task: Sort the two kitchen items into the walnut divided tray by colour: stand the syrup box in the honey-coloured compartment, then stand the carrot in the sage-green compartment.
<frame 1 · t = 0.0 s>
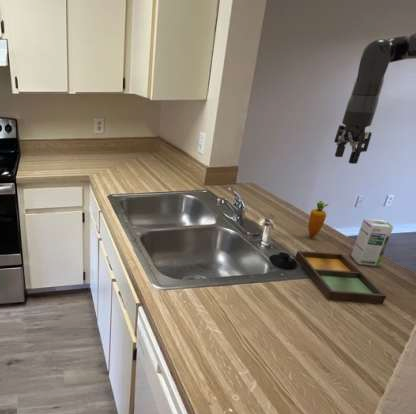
hand: (345, 159, 111), 31 cm above the worktop, tool pointing down, fingers open, 8 cm apart
sorting tray: (334, 278, 101), on the worktop
carrot: (311, 238, 125), on the worktop
syrup box: (363, 261, 111), on the worktop
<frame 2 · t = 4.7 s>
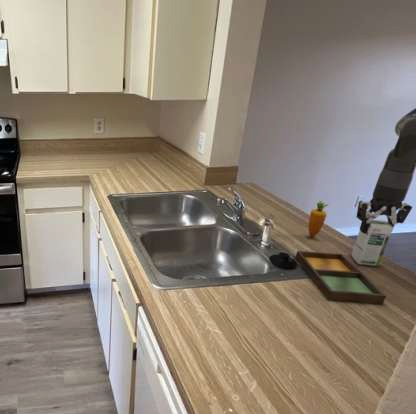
hand: (374, 232, 106), 11 cm above the worktop, tool pointing down, fingers closed on syrup box, 6 cm apart
syrup box: (363, 261, 111), on the worktop, touching gripper
everything else where it was.
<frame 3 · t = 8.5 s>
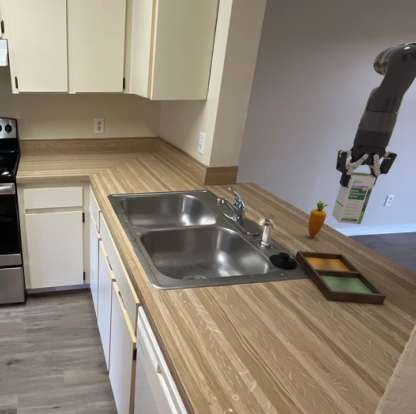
hand: (356, 186, 96), 28 cm above the worktop, tool pointing down, fingers closed on syrup box, 6 cm apart
syrup box: (345, 220, 100), point 17 cm above the worktop, touching gripper
everything else where it was.
when the fingers open (12 cm above the worktop, at t = 12.6 s): syrup box stays where it is, resting on sorting tray.
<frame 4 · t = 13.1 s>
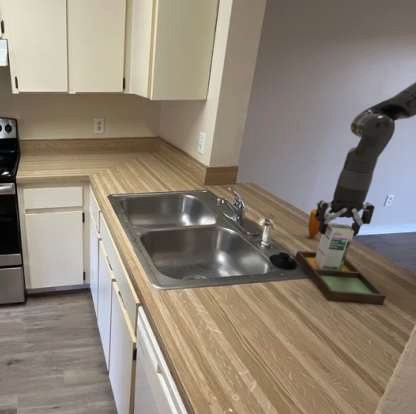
hand: (337, 234, 101), 13 cm above the worktop, tool pointing down, fingers open, 8 cm apart
syrup box: (326, 266, 106), point 1 cm above the worktop, touching sorting tray
everything else where it was.
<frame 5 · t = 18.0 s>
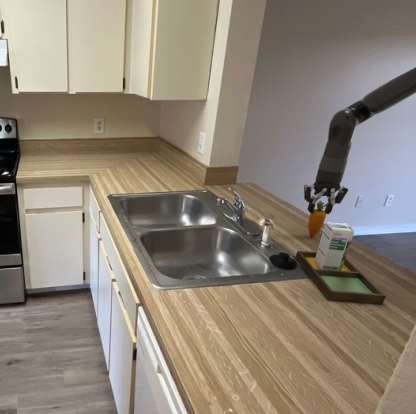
hand: (318, 212, 121), 10 cm above the worktop, tool pointing down, fingers closed on carrot, 5 cm apart
carrot: (311, 238, 125), on the worktop, touching gripper
everything else where it was.
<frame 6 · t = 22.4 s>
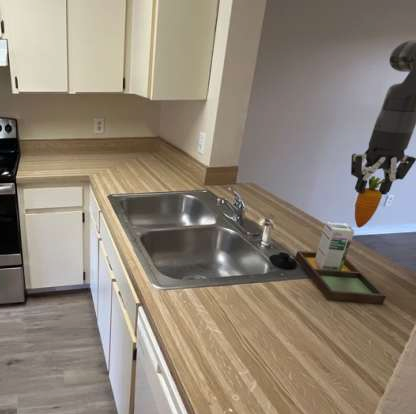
hand: (370, 192, 88), 29 cm above the worktop, tool pointing down, fingers closed on carrot, 5 cm apart
carrot: (358, 228, 92), point 18 cm above the worktop, touching gripper
everything else where it was.
when the fingers open (11 cm above the worktop, at t = 26.9 s): carrot stays where it is, resting on sorting tray.
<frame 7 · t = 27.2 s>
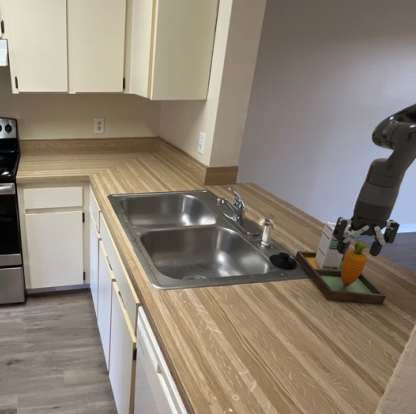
hand: (356, 253, 92), 12 cm above the worktop, tool pointing down, fingers open, 7 cm apart
carrot: (345, 287, 96), point 1 cm above the worktop, touching sorting tray
everything else where it was.
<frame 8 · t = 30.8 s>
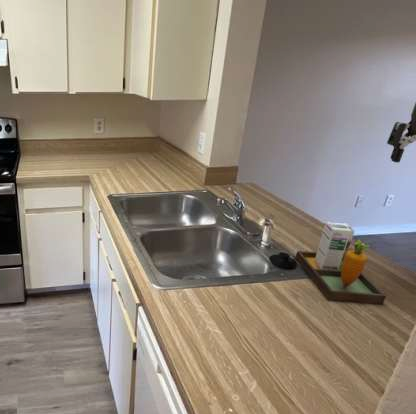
hand: (412, 162, 89), 36 cm above the worktop, tool pointing down, fingers open, 8 cm apart
nothing on the worktop moved.
at the end: syrup box inside the target area on the sorting tray (0.1 cm from its centre), point 0.8 cm above the sorting tray's base; carrot inside the target area on the sorting tray (0.1 cm from its centre), point 0.8 cm above the sorting tray's base; carrot tilted 0° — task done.
